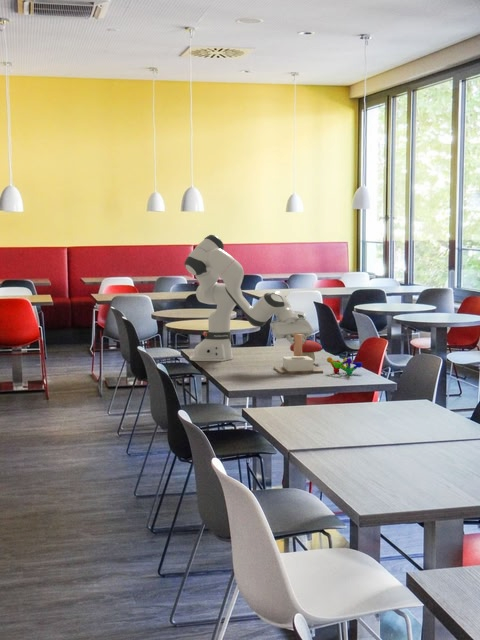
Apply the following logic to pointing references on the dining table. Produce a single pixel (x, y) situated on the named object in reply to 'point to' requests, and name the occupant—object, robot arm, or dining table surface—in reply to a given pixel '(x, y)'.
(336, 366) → the decorative model
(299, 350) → the peg
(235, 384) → the dining table surface
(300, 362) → the socket block
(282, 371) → the base board
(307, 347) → the mushroom
